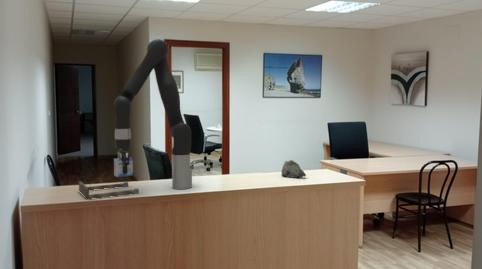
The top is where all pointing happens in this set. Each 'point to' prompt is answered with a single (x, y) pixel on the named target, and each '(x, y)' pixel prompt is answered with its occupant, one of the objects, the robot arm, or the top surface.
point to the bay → (85, 192)
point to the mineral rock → (292, 170)
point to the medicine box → (119, 169)
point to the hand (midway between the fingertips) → (123, 172)
